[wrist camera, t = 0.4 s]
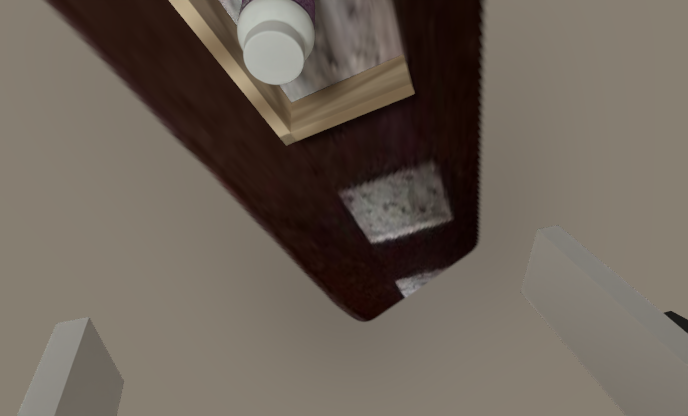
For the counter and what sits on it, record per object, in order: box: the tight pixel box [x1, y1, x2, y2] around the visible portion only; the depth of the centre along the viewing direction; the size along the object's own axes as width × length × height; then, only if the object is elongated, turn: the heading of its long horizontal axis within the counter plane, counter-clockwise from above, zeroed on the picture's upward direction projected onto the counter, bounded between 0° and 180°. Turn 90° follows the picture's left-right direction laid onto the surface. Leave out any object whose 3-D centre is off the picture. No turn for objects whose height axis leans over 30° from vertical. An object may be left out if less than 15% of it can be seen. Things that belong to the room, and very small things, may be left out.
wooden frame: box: [169, 0, 415, 145], centre depth 31 cm, size 22×13×4 cm, turn 25°
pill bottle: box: [237, 0, 315, 85], centre depth 30 cm, size 5×5×10 cm
